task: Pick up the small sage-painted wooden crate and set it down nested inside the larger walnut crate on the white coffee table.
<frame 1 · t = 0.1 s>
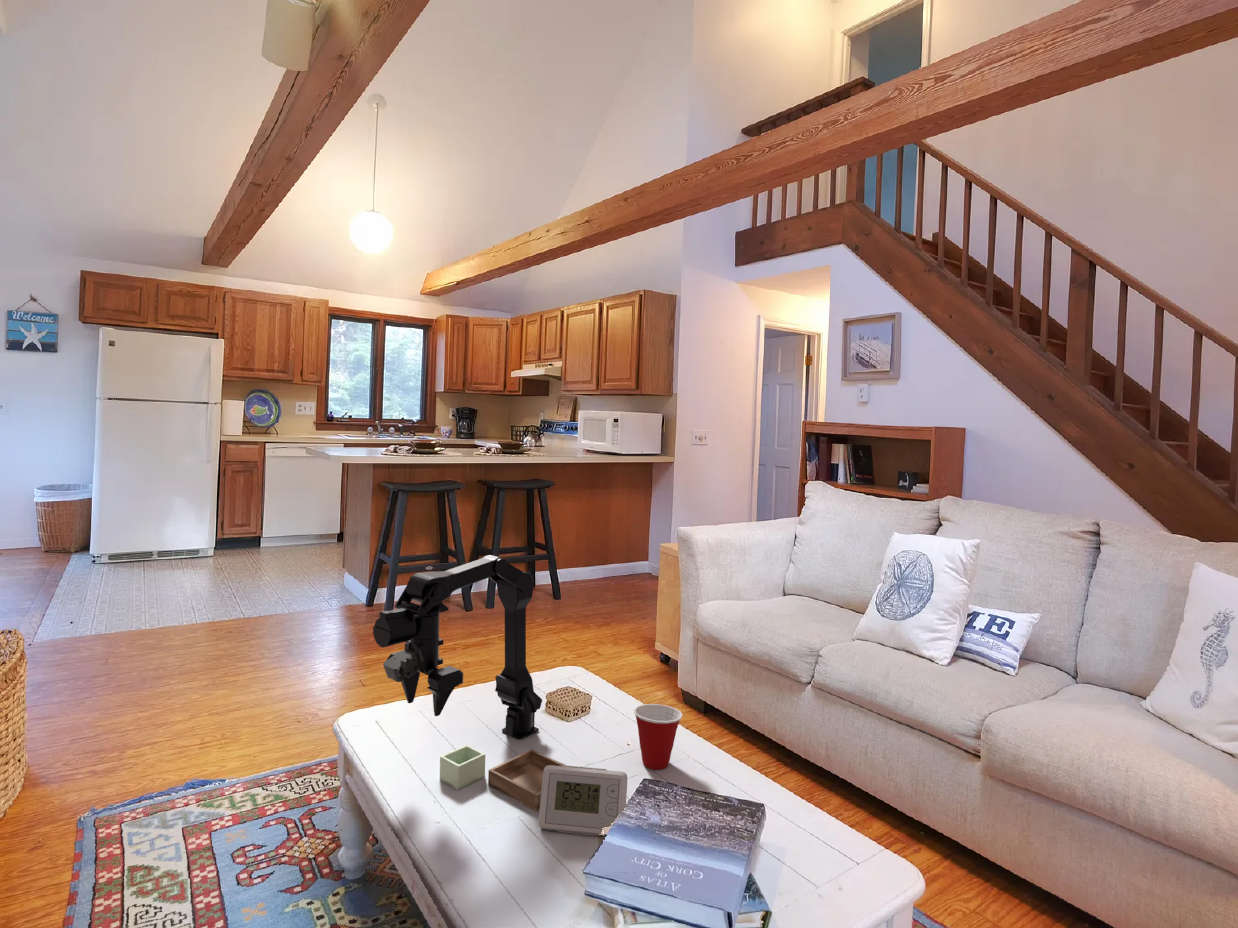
hand: (423, 708, 145), 14 cm above the table, fingers open, 9 cm apart
digital clock: (582, 828, 130), on the table
big crate: (533, 785, 144), on the table
small crate: (462, 778, 145), on the table
plastic cup: (655, 763, 155), on the table
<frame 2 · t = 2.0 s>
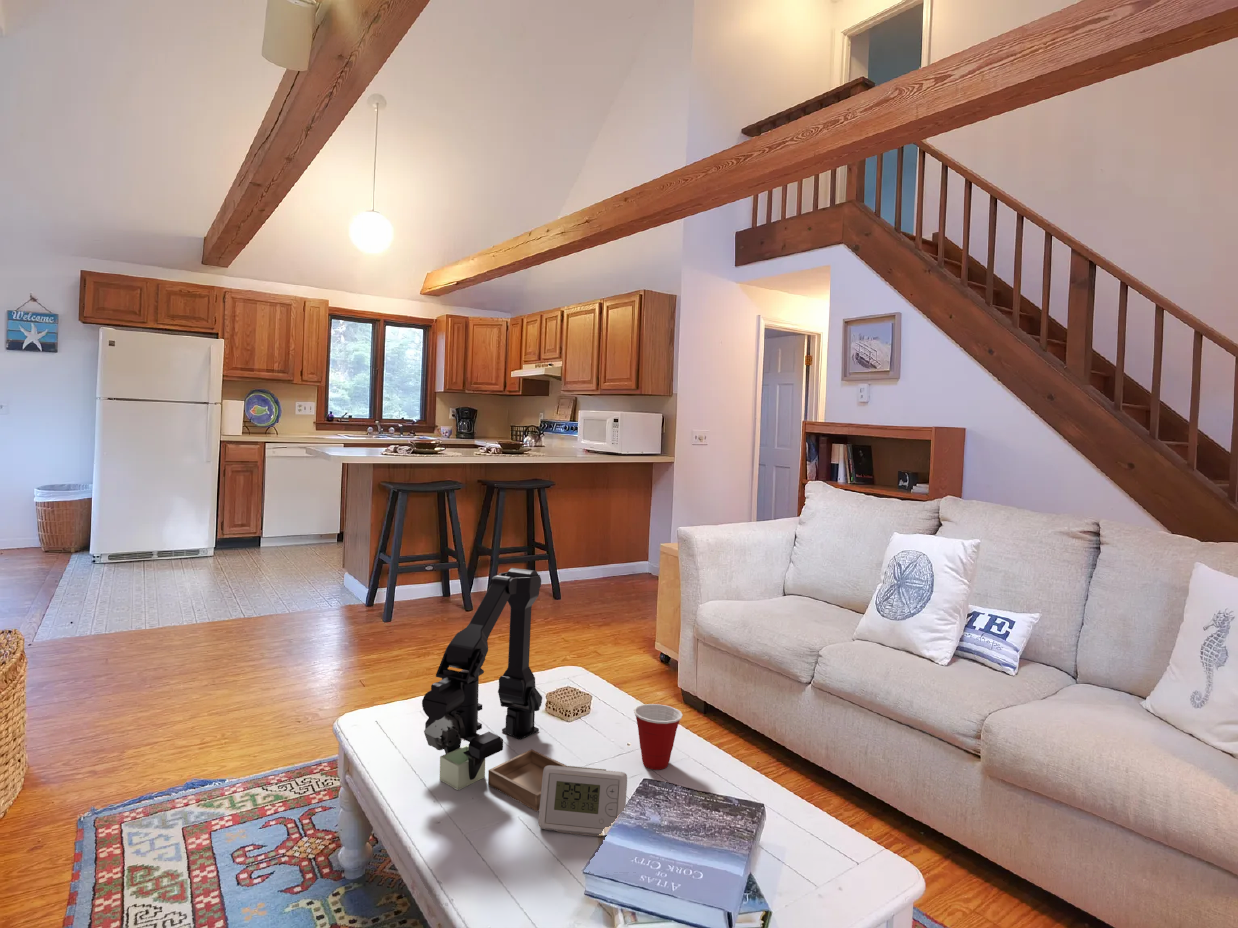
hand: (462, 773, 145), 1 cm above the table, fingers closed on small crate, 6 cm apart
small crate: (462, 778, 145), on the table, touching gripper
everything else where it was.
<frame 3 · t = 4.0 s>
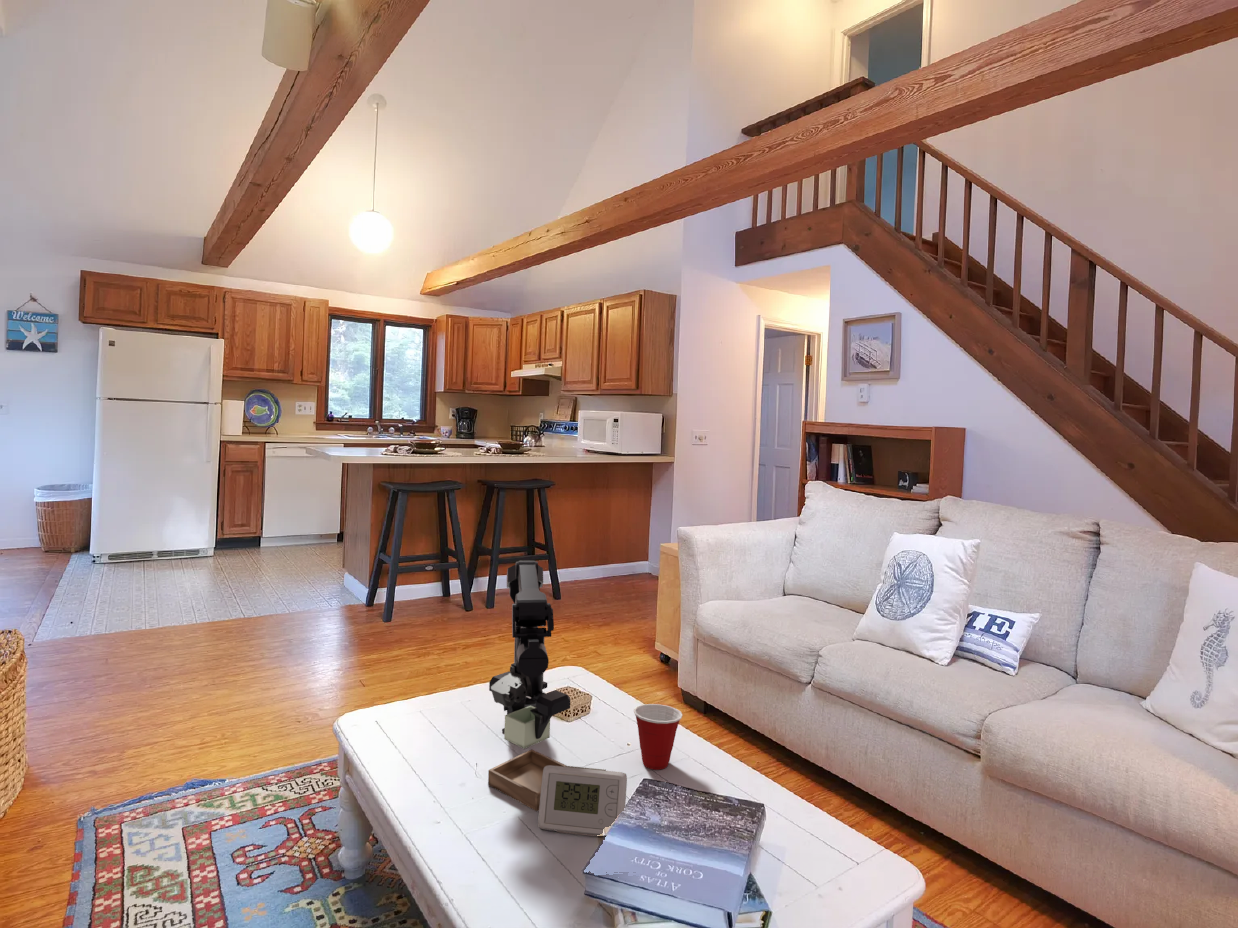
hand: (527, 733, 143), 11 cm above the table, fingers closed on small crate, 6 cm apart
small crate: (527, 738, 143), point 10 cm above the table, touching gripper
everything else where it was.
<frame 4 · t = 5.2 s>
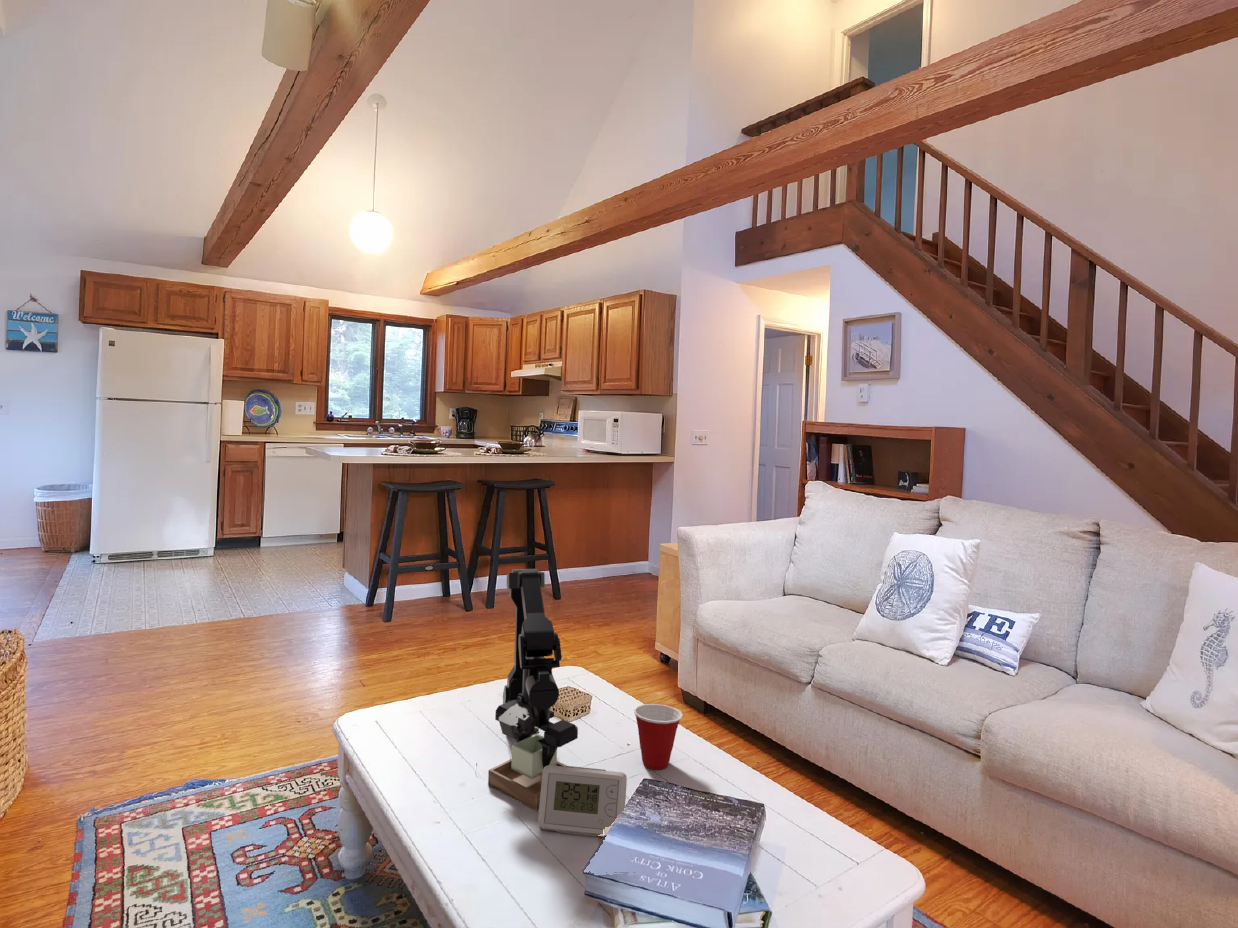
hand: (534, 762, 143), 5 cm above the table, fingers closed on small crate, 6 cm apart
small crate: (533, 767, 143), point 4 cm above the table, touching gripper
everything else where it was.
when the fingers open (3 cm above the table, at t = 6.0 s): small crate drops 2 cm, resting on big crate.
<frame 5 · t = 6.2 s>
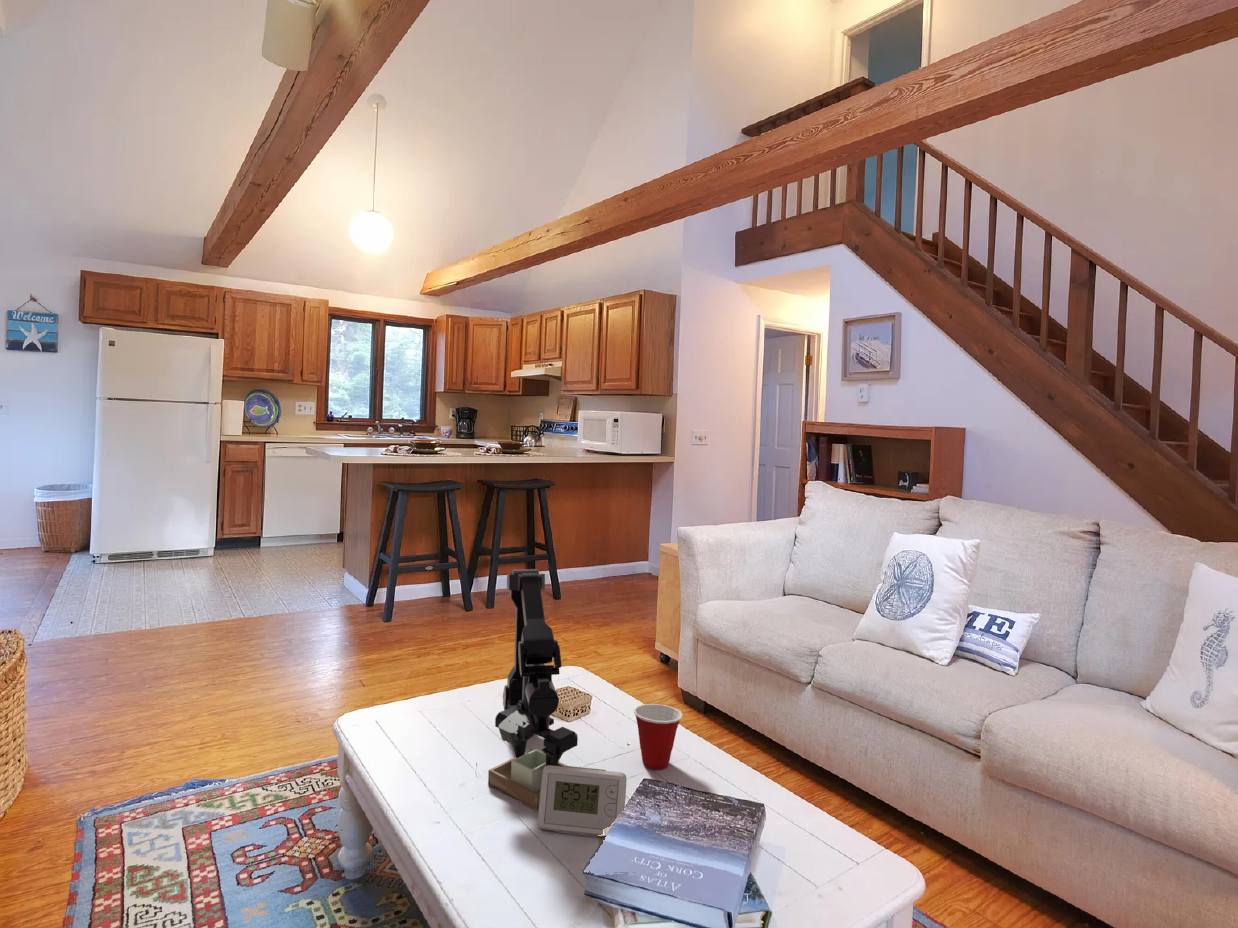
hand: (534, 769, 143), 3 cm above the table, fingers open, 8 cm apart
small crate: (533, 782, 144), point 1 cm above the table, touching big crate
everything else where it was.
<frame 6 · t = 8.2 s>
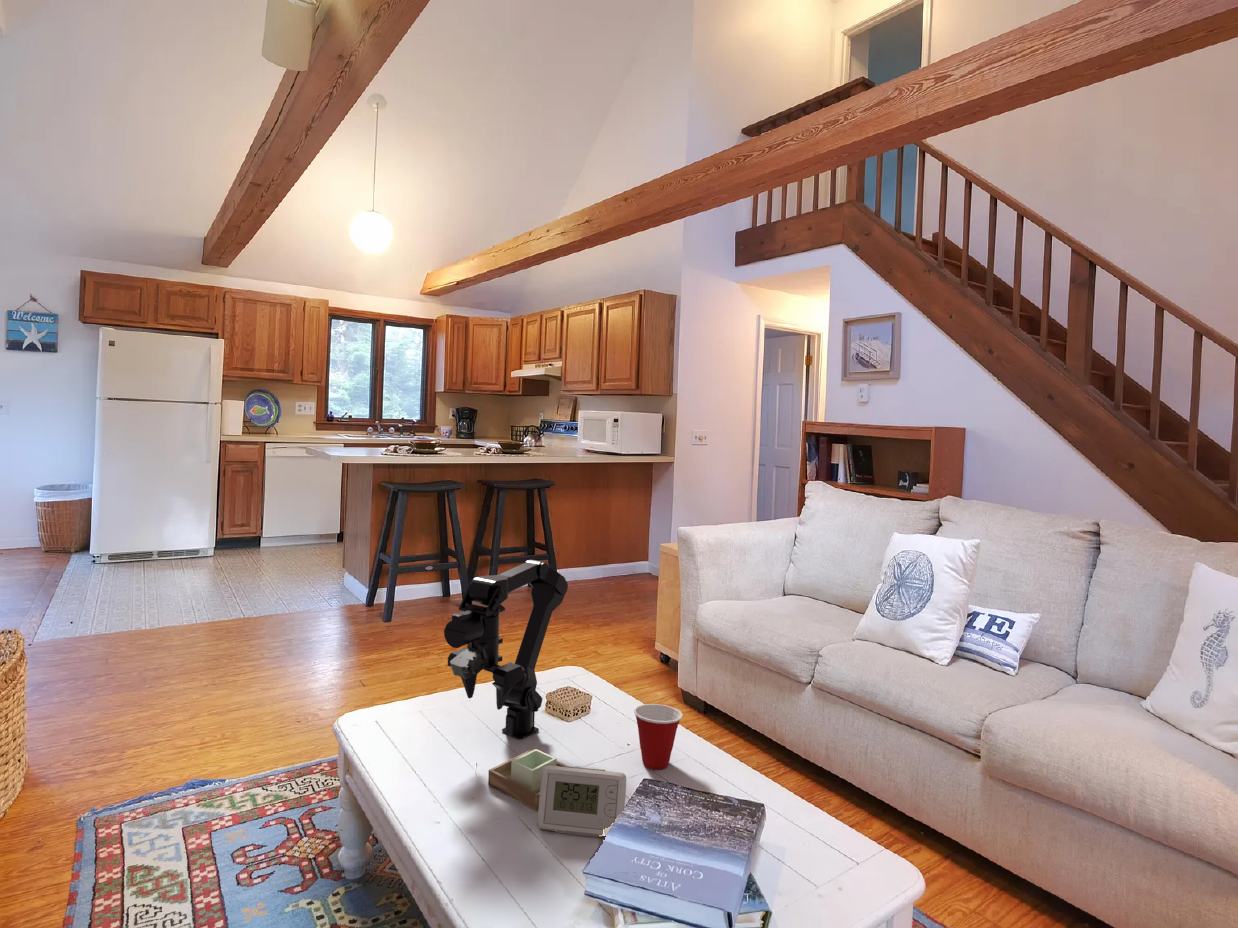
hand: (484, 703, 155), 12 cm above the table, fingers open, 9 cm apart
nothing on the table moved.
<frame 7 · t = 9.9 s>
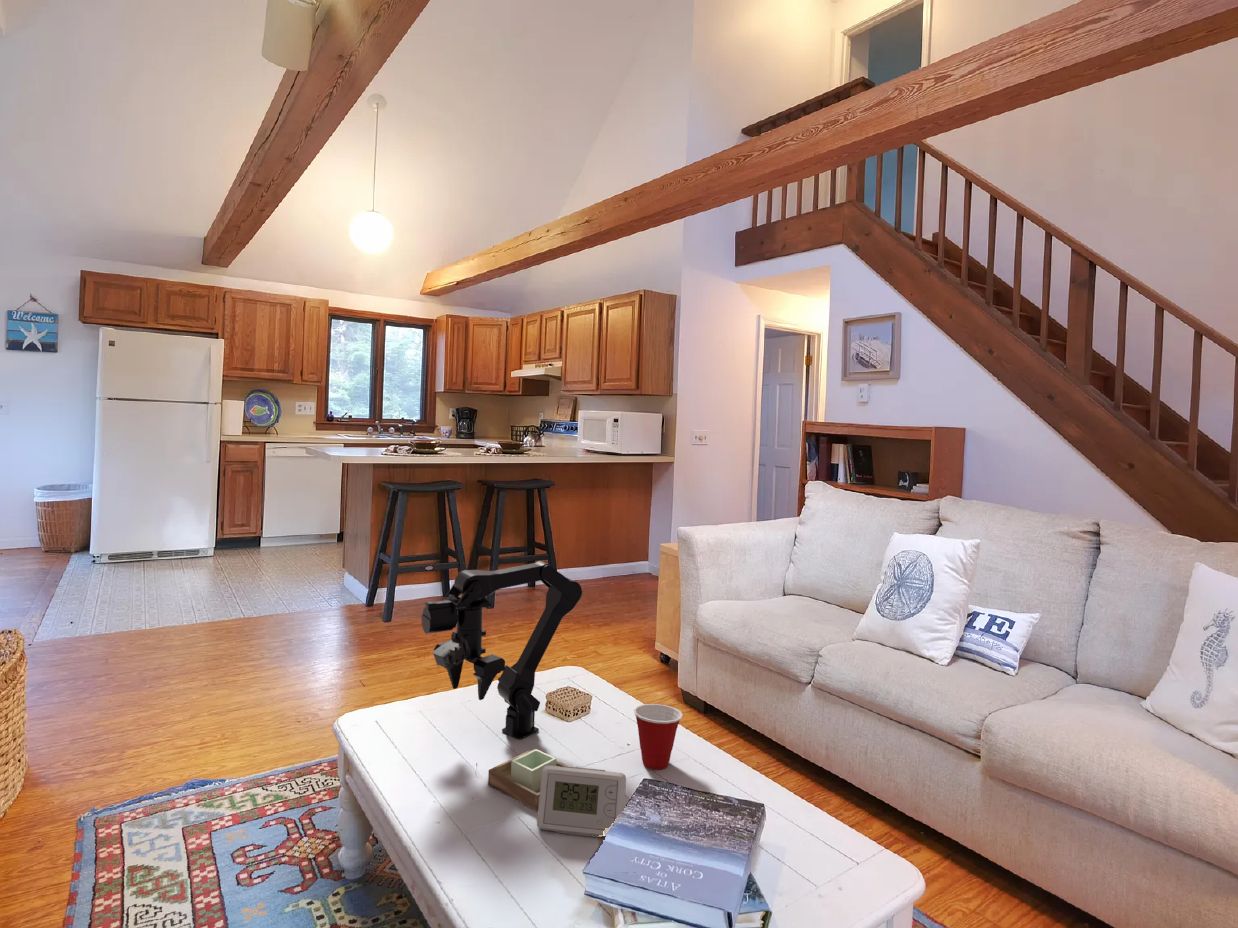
hand: (467, 693, 159), 12 cm above the table, fingers open, 9 cm apart
nothing on the table moved.
at the end: small crate 0.1 cm off-centre on the big crate, point 0.6 cm above the big crate's base; small crate tilted 0°; the gripper is holding nothing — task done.
